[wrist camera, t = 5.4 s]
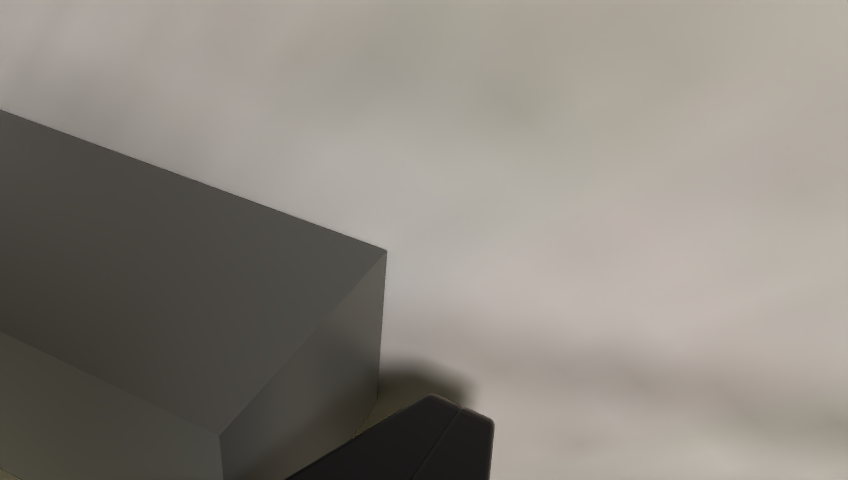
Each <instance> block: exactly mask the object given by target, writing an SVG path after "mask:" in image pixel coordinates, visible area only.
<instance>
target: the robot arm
mask: <svg viewBox="0 0 848 480" xmlns="http://www.w3.org/2000/svg"><path fill="white" fill-rule="evenodd" d="M493 439H494V422H493V420H492V419H490V418H488V417H486V416H484V415H481V414H479V413H477V412H475V411H473V410H470V409H468V408H465V407H462V406H460V405H459V404H457V403H455V402H452V401H450V400H448V399H446V398H444V397H441V396H439V395H437V394H428V395H425V396H423V397H422V398H420V399H418V400H417V401H415V402H413V403H412V404H410V405H408V406H407V407H405V408H403V409H401V410H400V411H398V412H396V413H395V414H393V415H391V416H390V417H388V418H386V419H385V420H383V421H381V422H380V423H378V424H376V425H375V426H373V427H371V428H370V429H368V430H366V431H365V432H363V433H361V434H360V435H358V436H356V437H354V438H353V439H351V440H349V441H348V442H346V443H344V444H343V445H341V446H339V447H338V448H336V449H334V450H333V451H331V452H329V453H328V454H326V455H324V456H323V457H321V458H319V459H318V460H316V461H314V462H312V463H311V464H309V465H307V466H306V467H304V468H302V469H301V470H299V471H297V472H296V473H294V474H292V475H291V476H289V477H287V478H286V479H284V480H490V469H491V459H492V449H493Z"/></svg>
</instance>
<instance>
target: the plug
mask: <svg viewBox="0 0 848 480" xmlns="http://www.w3.org/2000/svg"><path fill="white" fill-rule="evenodd" d="M386 259H387V251H386V250H383V249H381V248H378V247H375V246H372V245H370V244H367V243H364V242H361V241H359V240H356V239H353V238H350V237H348V236H345V235H342V234H339V233H337V232H334V231H331V230H328V229H326V228H323V227H320V226H317V225H315V224H312V223H309V222H306V221H304V220H301V219H298V218H295V217H293V216H290V215H287V214H284V213H282V212H279V211H276V210H274V209H271V208H268V207H265V206H263V205H260V204H257V203H254V202H252V201H249V200H246V199H243V198H241V197H238V196H235V195H232V194H230V193H227V192H224V191H221V190H219V189H216V188H213V187H210V186H208V185H205V184H202V183H199V182H197V181H194V180H191V179H188V178H186V177H183V176H180V175H177V174H175V173H172V172H169V171H166V170H164V169H161V168H158V167H155V166H153V165H150V164H147V163H144V162H142V161H139V160H136V159H133V158H131V157H128V156H125V155H122V154H120V153H117V152H114V151H111V150H109V149H106V148H103V147H101V146H98V145H95V144H92V143H90V142H87V141H84V140H81V139H79V138H76V137H73V136H70V135H68V134H65V133H62V132H59V131H57V130H54V129H51V128H48V127H46V126H43V125H40V124H37V123H35V122H32V121H29V120H26V119H24V118H21V117H18V116H15V115H13V114H10V113H7V112H4V111H2V110H0V468H1V469H3V470H4V471H6V472H8V473H10V474H12V475H13V476H15V477H17V478H19V479H21V480H284V479H286V478H287V477H289V476H291V475H292V474H294V473H296V472H297V471H299V470H301V469H302V468H304V467H306V466H307V465H309V464H311V463H312V462H314V461H316V460H318V459H319V458H321V457H323V456H324V455H326V454H328V453H329V452H331V451H333V450H334V449H336V448H338V447H339V446H341V445H343V444H344V443H346V442H348V441H349V440H350V439H351V438H352V437H353V435H354V434H355V433H356V431H357V430H358V428H359V427H360V426H361V424H362V423H363V422H364V420H365V419H366V417H367V416H368V415H369V413H370V412H371V410H372V409H373V408H374V406H375V405H376V401H377V387H378V372H379V358H380V344H381V330H382V316H383V302H384V288H385V273H386Z"/></svg>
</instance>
